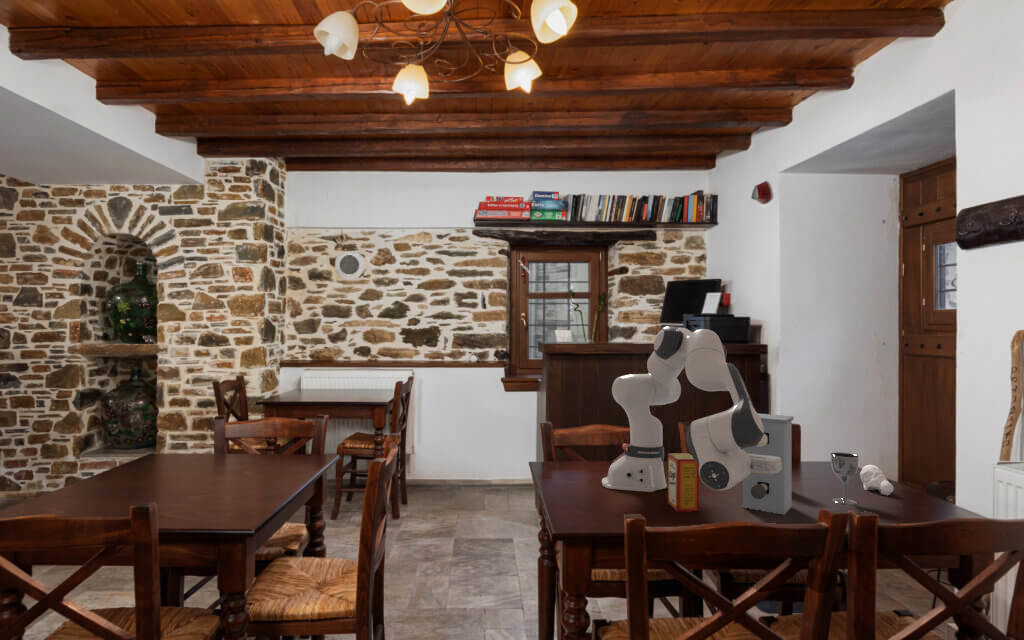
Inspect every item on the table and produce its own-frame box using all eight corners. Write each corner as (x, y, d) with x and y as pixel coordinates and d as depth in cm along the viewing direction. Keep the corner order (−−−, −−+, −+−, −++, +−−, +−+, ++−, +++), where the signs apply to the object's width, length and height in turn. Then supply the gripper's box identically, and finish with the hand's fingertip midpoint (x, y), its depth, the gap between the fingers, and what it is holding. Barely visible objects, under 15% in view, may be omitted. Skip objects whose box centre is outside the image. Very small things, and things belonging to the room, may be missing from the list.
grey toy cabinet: (785, 515, 183) (785, 420, 184) (740, 507, 191) (740, 416, 191) (793, 507, 192) (793, 416, 193) (750, 500, 200) (750, 412, 200)
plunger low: (764, 500, 181) (764, 486, 181) (750, 498, 183) (750, 484, 183) (772, 493, 189) (772, 480, 189) (758, 491, 191) (758, 478, 191)
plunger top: (766, 447, 183) (766, 433, 183) (752, 446, 185) (752, 432, 185) (774, 443, 191) (774, 429, 191) (760, 441, 193) (760, 428, 193)
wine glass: (825, 498, 203) (825, 452, 203) (850, 498, 203) (850, 452, 203) (837, 504, 195) (837, 457, 195) (863, 505, 195) (863, 457, 195)
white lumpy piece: (875, 462, 217) (900, 474, 205) (873, 486, 218) (899, 499, 206) (858, 463, 216) (883, 474, 205) (857, 487, 217) (881, 499, 205)
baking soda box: (667, 503, 195) (667, 452, 196) (688, 502, 196) (688, 452, 196) (677, 511, 186) (677, 458, 186) (698, 511, 186) (698, 458, 186)
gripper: (775, 457, 155) (787, 449, 166) (694, 448, 167) (710, 441, 178) (775, 482, 155) (787, 472, 166) (694, 472, 167) (711, 463, 178)
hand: (747, 456), depth 172 cm, fingers closed
